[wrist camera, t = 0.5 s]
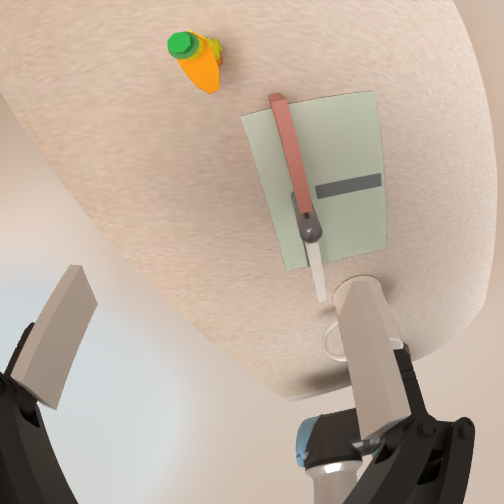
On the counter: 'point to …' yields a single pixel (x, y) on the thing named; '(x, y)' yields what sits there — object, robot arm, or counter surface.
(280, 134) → the red panel
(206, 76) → the toy figure
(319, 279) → the fixed panel
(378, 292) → the mug
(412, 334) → the counter surface
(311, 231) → the post
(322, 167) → the card
